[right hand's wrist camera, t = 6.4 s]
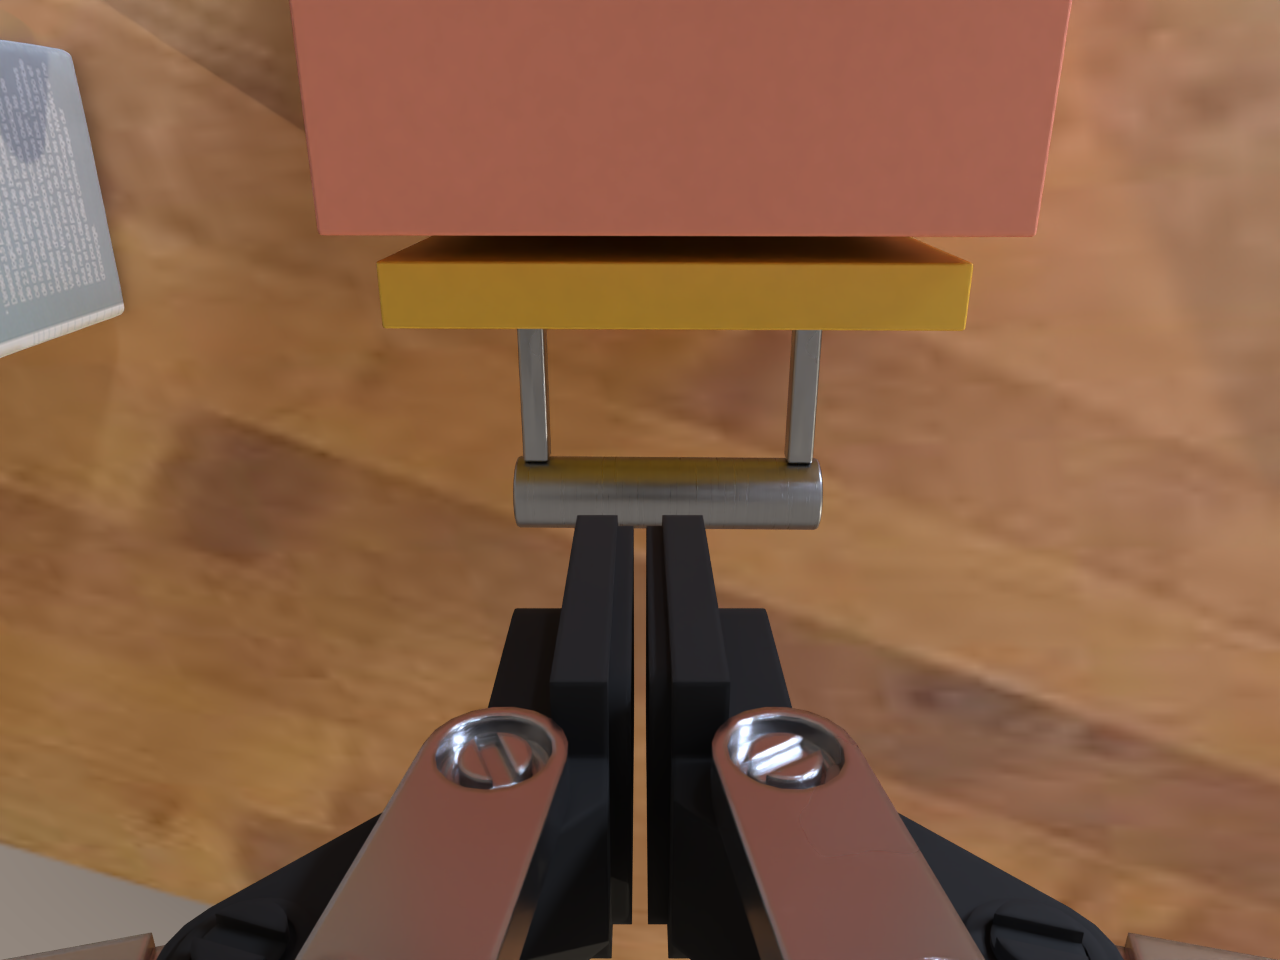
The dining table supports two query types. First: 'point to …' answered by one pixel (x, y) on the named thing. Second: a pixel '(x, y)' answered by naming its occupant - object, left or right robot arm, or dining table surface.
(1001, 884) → the right robot arm
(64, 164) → the hard drive box
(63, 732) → the dining table surface
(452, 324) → the drawer
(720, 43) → the cabinet
